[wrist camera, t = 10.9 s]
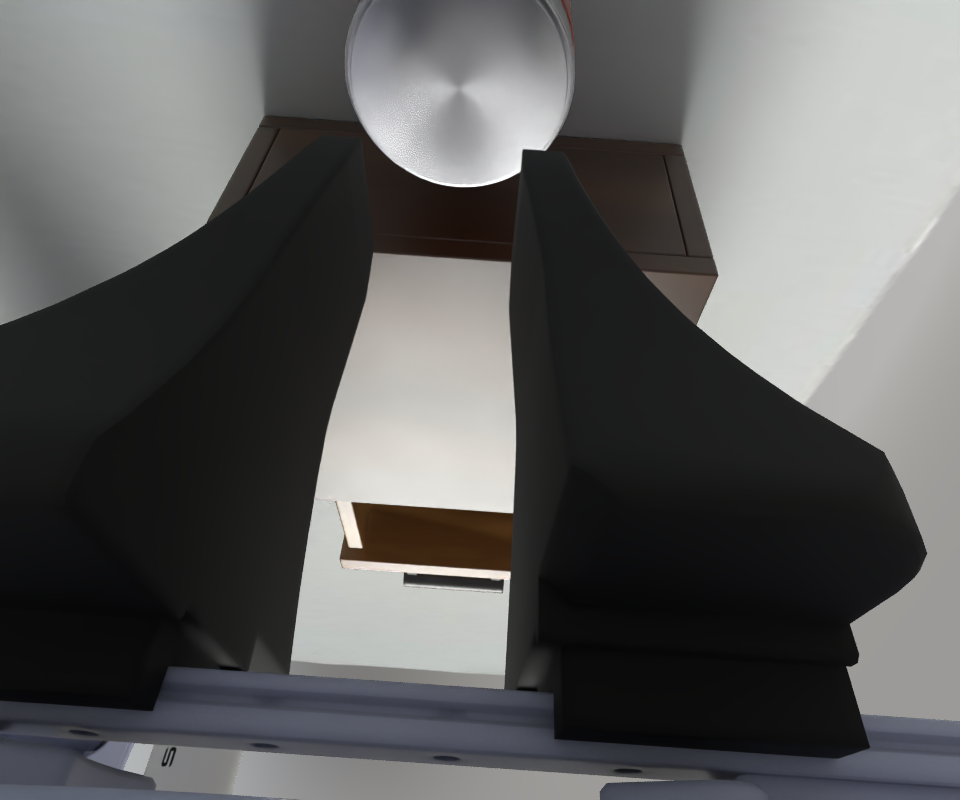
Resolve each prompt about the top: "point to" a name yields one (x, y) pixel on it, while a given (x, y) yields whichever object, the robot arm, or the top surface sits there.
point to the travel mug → (193, 769)
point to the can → (461, 83)
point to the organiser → (465, 309)
